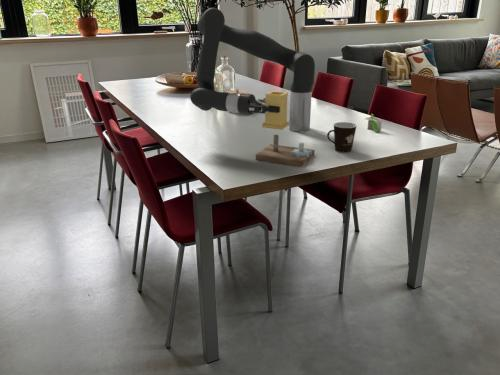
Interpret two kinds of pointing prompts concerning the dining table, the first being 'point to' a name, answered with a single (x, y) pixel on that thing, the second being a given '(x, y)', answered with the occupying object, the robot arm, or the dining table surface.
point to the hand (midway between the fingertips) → (282, 107)
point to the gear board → (282, 154)
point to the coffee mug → (343, 136)
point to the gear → (301, 151)
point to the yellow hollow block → (273, 118)
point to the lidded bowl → (238, 92)
